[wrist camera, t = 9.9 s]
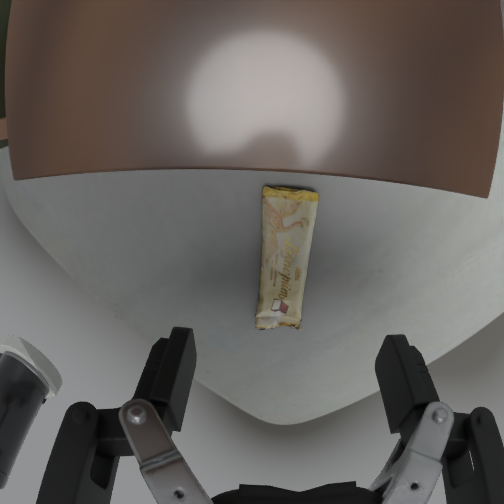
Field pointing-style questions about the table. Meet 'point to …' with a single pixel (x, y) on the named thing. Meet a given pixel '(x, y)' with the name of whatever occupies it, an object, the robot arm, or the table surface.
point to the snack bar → (284, 255)
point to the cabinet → (258, 88)
